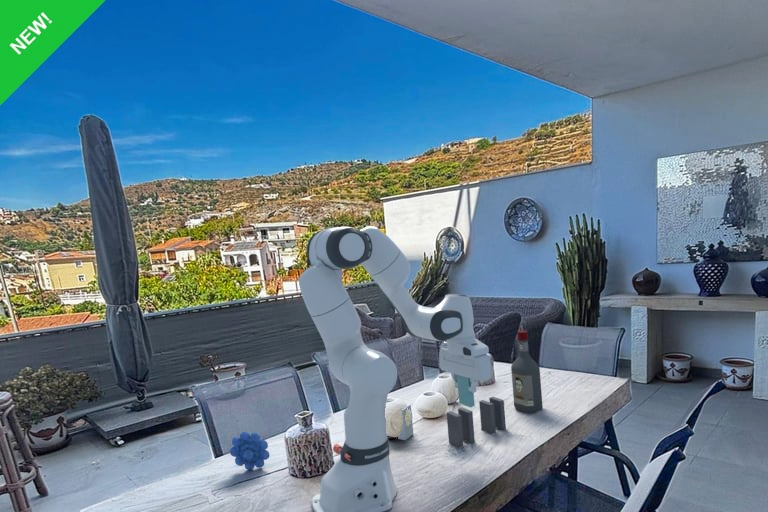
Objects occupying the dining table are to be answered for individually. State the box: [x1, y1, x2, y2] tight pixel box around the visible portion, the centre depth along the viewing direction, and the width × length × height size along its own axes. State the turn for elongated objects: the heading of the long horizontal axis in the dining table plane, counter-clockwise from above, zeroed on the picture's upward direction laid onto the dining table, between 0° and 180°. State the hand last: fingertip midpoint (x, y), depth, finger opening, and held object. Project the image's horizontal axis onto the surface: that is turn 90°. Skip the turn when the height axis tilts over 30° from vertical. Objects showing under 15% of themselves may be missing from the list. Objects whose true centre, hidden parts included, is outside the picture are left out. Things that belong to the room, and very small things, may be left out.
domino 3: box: [457, 407, 476, 444], centre depth 136 cm, size 2×5×10 cm, turn 33°
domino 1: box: [446, 410, 464, 449], centre depth 133 cm, size 2×5×10 cm, turn 32°
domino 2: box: [457, 375, 476, 408], centre depth 127 cm, size 2×5×10 cm, turn 32°
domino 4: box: [478, 399, 497, 435], centre depth 141 cm, size 2×5×10 cm, turn 32°
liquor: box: [510, 330, 544, 414], centre depth 159 cm, size 9×9×30 cm
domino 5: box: [489, 396, 507, 431], centre depth 144 cm, size 2×5×10 cm, turn 32°
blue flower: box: [229, 431, 270, 471], centre depth 126 cm, size 12×7×12 cm, turn 100°
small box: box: [398, 403, 414, 441], centre depth 143 cm, size 8×6×10 cm
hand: (465, 389), depth 127 cm, fingers closed on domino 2, 5 cm apart
